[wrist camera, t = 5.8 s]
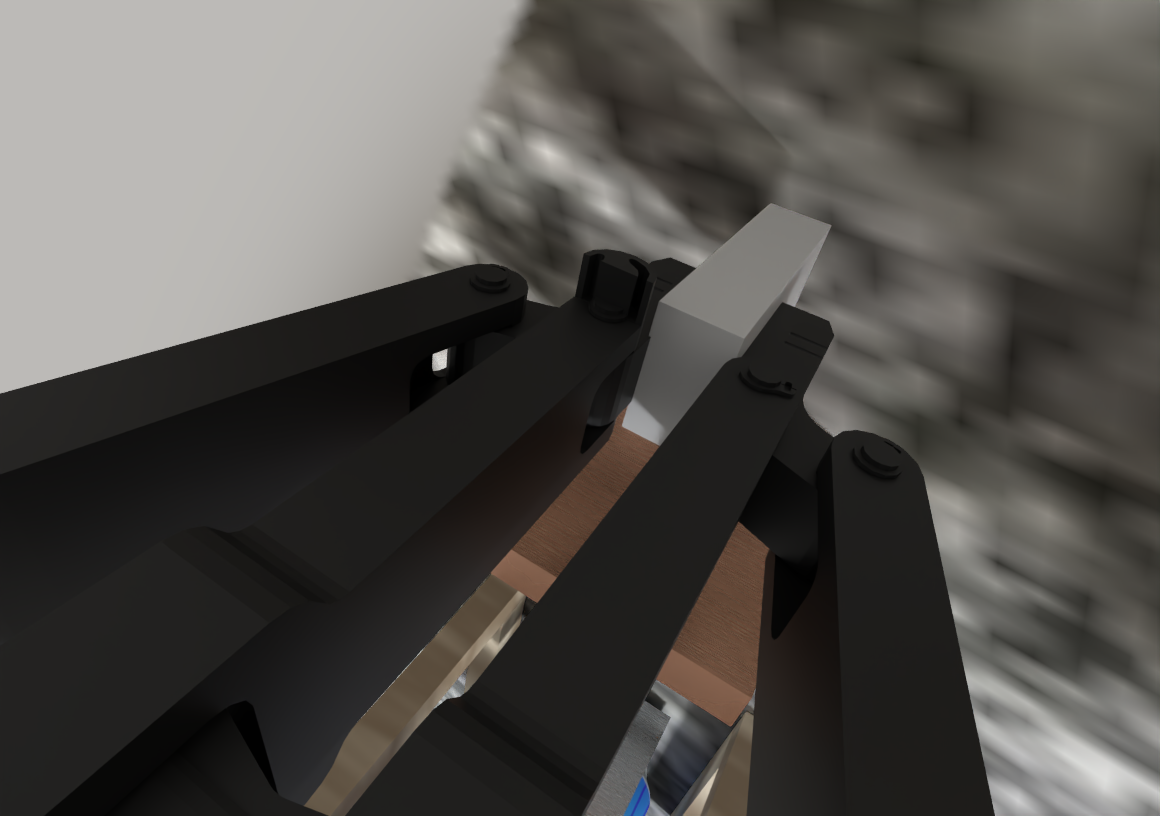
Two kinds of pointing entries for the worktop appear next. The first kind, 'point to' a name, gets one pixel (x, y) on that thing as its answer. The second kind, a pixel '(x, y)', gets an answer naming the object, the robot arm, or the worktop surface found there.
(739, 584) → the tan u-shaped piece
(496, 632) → the wooden open frame
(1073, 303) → the worktop surface
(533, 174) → the worktop surface
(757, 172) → the worktop surface
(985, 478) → the worktop surface
